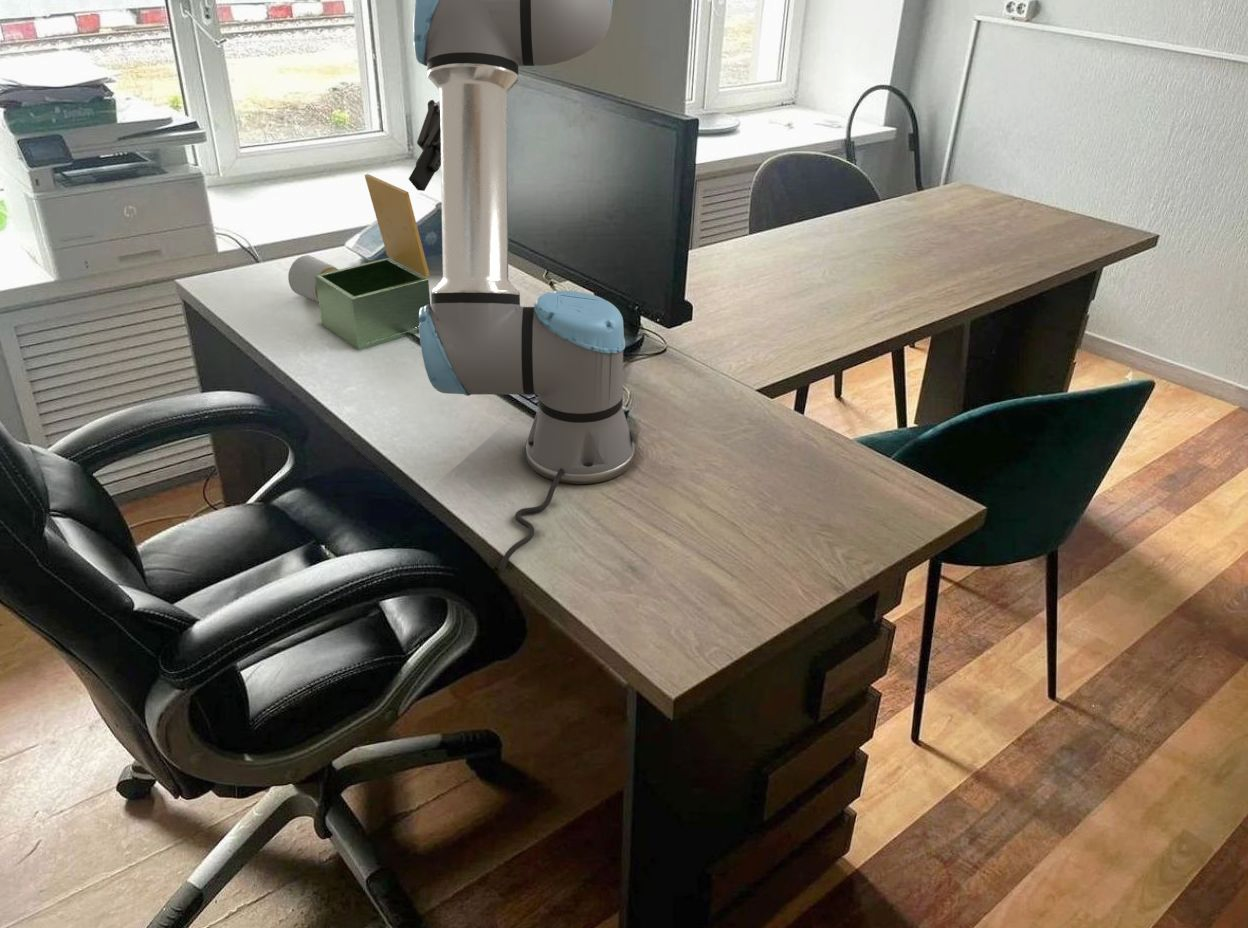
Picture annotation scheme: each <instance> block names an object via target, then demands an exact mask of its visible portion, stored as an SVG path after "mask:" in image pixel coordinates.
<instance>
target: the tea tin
mask: <svg viewBox="0 0 1248 928" xmlns="http://www.w3.org/2000/svg"><path fill="white" fill-rule="evenodd" d="M315 281H316V287H317V294H318V301H319V302H318V306H319V307H318V308H319V314H320V320H321V326H323V327H325V329H328V330H329V331H331V332H332V333H334V334H335V335H336V336H338V337H339V338H341V339H342V340H343V341H345V342H346V343H348V344H350V345H351V346H352V347H354V348H355V349H357V350H358V351H360V350H363V349H366V348H369V347H372V346H376V345H380V344H383V343H387V342H391V341H394V340H398V339H401V338H404V337H407V336H410V335H414V334H417V333H418V334H419V327H418V326H419V312H420V309H421V308H422V307H424V306H426V305H431V295H430V293H431V292H430V281H429V278H428V277H425V276H423V275H421V274H420V273H418V272H416V271H414V270H412V269H410V268H408V267H407V266H405V265H403V264H401V263H399V262H397V261H396V260H394V259H392V258H390V257H386V258H381V259H377V260H373V261H369V262H365V263H360V264H357V265H352V266H348V267H344V268H340V269H339V270H335V271H331V272H327V273H323V274H319V275H315ZM415 327H417V328H415ZM413 328H414V329H413Z"/></svg>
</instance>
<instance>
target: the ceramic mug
mask: <svg viewBox="0 0 1248 928" xmlns="http://www.w3.org/2000/svg"><path fill="white" fill-rule="evenodd" d="M335 270H340V269H339V268H337V266H336V267H335V266H334V265H332V264H330V263H328V262H325V261H323V260H321V259H319V258H317V257H315V256H313V255H308V254H306V255H301V256H299V257H297V258H296V259H295V260H294V261H293V262H292V264H291V265H290V268H289V270H288V276H287V277H288V278H287V279H288V284H289V287H290V289H291V290H292V291H293V292H294V293H295V294H297V295H299V296H301V297H304V298H307V299H310V300H312V301H315V302H317V303H319V301H318V294H317V287H316V281H315V275H319V274H323V273H327V272H331V271H335Z"/></svg>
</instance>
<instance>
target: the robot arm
mask: <svg viewBox="0 0 1248 928" xmlns="http://www.w3.org/2000/svg"><path fill="white" fill-rule="evenodd" d="M414 1H415V2H414V8H413V9H414V11H413V22H412V23H413V24H412V25H413V26H412V30H413V31H412V32H413V49H414V50H413V51H414V56H415V59H416V61H417V62H418V64H421V65H422V66H425V67H426V71H427V72H426V73H427V78H428V80H429V81H430V82H431V83H432V84H433V85H434V86H435V87H436V89H438V91H439V101H437V102H436V101H435V100H434V99H430V100H429V101H428V102H427V112H426V115H425V118H424V121H423V124H422V126H421V129H420V132H419V135H418V138H417V141H416V144H417V145H418V147H419V148H420V149H421V150H422V151H421V153H420V155H419V157H418V158H417V161H416V162H415V167H414V169H413V170H412V172H411V174H410V175H409V177H408V180H409V182H410V183H411V184H412V185H413V186H414V187H415V189H416V190H417V191H421V192H425V191H426V189H427V187H428V185H429V184H430V182H431V180H432V178H433V177H434V175H435V174H436V173H437V172H438V171H439V169H440V183H441V186H440V187H441V189H440V191H441V193H440V194H441V252H442V254H441V256H442V258H441V260H442V277H441V278H442V279H441V281H440V282H439V283H438V284H437V285H436V286H435V287H434V288H433V289H432V290H431V291H430V293H431V295H430V305H426V306H424V307H422V308H421V309H420V312H419V332H418V335H419V342H420V349H421V356H422V361H423V364H424V369H425V372H426V375H427V378H428V380H429V382H430V384H431V386H432V387H433V388H434V389H435V391H437V392H439V393H442V394H450V395H451V394H453V395H464V396H466V397H468V396H471V395H517V396H518V395H523V396H524V395H525V396H526V395H535V396H536V395H537V410H536V413H535V416H534V419H533V422H532V425H531V428H530V431H529V434H528V436H527V437H528V438H527V440H526V447H525V448H526V449H525V451H526V461H527V463H528V465H529V467H530V468H531V469H532V470H533V471H534V472H535V473H537V474H538V475H540V476H542V477H544V478H546V479H549V480H552V482H551V484H550V487H549V489H548V492H547V495H546V498H545V500H544V501H543V502H542V503H541V504H540V505H537V506H532V507H525V508H521V509H519V510H517V511H516V512H515V515H514V519H515V521H516V522H517V523H518V524H520V525H521V526H523V527H524V528H526V529H527V530H528V533H527V534H526V536H525V537H523V538H521V539H520V540H519V541H517V542H515V543H514V544H512V546H511V547H510V548H508V550H506V552H505V553H504V555H503V557H502V558H501V561H500V563H499V567H498V572H500V573H501V572H504V571H505V570H506V568H507V564H508V563H509V560H510V558H511V556H513V554H514V553H515V552H516V551H517V550H518V549H520V548H521V547H523V546H524V545H526V544H527V543H529V542H530V541H531V540H532V539H533V538H534V535H535V527H534V525H532V523H531V522H529V521H527V520H526V519H524V518H523V517H521V516H522V515H527V514H536V513H540V512H542V511H544V510H545V509H547V508H548V506H549V505H550V504H551V502H552V500H553V497H554V493H555V491H556V489H557V487H558V485H559V483H564V484H570V485H571V484H572V485H586V484H589V485H590V484H596V483H601V482H606V481H609V480H612V479H614V478H617V477H619V476H620V475H623V474H624V473H625V472H626V471H628V470H629V469H630V468H631V466H632V465H633V463H634V459H635V445H636V446H638V442H639V441H638V440H639V439H638V438H639V436H638V435H637V434H636V433H634V432H633V431H632V430H630V428H629V424H628V420H627V418H626V414H625V412H624V407H623V403H624V402H623V399H624V398H623V397H624V396H623V394H624V350H625V349H626V339H625V333H624V329H625V328H624V317H623V315H622V313H621V311H620V310H619V309H618V308H617V307H616V306H615V305H614V304H613V303H611V302H610V301H608V300H606V299H604V298H602V297H600V296H597V295H595V294H593V293H587V292H583V291H576V290H565V289H563V290H554V291H553V292H550V291H549V292H545V293H543V294H541V295H539V296H538V297H537V299H536V300H535V302H534V305H533V306H521V292H520V291H519V290H518V289H517V288H516V287H515V286H514V285H513V284H512V283H511V281H510V279H509V202H508V201H509V199H508V197H509V196H508V195H509V192H508V191H509V188H508V187H509V186H508V183H509V182H508V179H509V177H508V93H509V91H510V90H511V89H512V88H513V87H515V85H516V84H517V83H518V82H519V67H523V66H524V67H535V66H536V67H538V66H540V67H541V66H542V67H543V66H551V65H556V64H561V63H565V62H568V61H571V60H573V59H576V58H578V57H580V56H582V55H584V54H586V53H587V52H589V51H591V50H593V48H595V47H596V46H597V45H599V44H600V43H601V41H602V40H603V39H604V37H605V36H606V35H607V33H608V31H609V28H610V25H611V20H612V10H613V1H614V0H414Z"/></svg>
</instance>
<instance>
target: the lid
mask: <svg viewBox="0 0 1248 928" xmlns="http://www.w3.org/2000/svg"><path fill="white" fill-rule="evenodd" d="M364 178H365V182H366V186H367V189H368V192H369V196H370V200H371V203H372V207H373V210H374V214H375V217H376V221H377V224H378V225H377V226H378V228H379V232H380V235H381V239H382V243H383V246H384V249H385V253H386V257H387V258H390V259H392V260H394V261H396V262H398V263H399V264H401V265H403V266H405V267H407V268H409V269H411V270H412V271H414V272H416V273H418V274H420V275H422V276H423V277H425V278H428V277H430V276H431V275H430V271H429V267H428V264H427V259H426V256H425V252H424V248H423V244H422V240H421V237H420V232H419V229H418V224H417V221H416V216H415V213H414V210H413V209H414V208H413V205H412V202H411V196H410V193H409V192H408V191H407V190H405V189H402V188H400V187H398V186H396V185H393V184H392V183H389V182H386V181H385V180H382V179H380V178H377V177H376V176H373V175H371V174H370V173H366V174H364Z"/></svg>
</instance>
